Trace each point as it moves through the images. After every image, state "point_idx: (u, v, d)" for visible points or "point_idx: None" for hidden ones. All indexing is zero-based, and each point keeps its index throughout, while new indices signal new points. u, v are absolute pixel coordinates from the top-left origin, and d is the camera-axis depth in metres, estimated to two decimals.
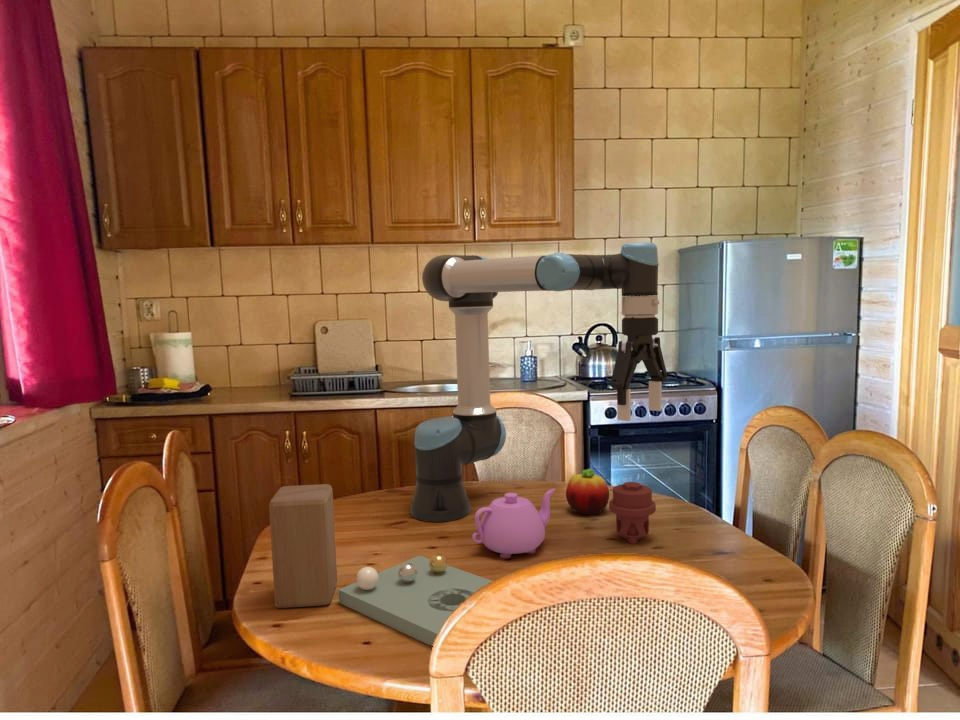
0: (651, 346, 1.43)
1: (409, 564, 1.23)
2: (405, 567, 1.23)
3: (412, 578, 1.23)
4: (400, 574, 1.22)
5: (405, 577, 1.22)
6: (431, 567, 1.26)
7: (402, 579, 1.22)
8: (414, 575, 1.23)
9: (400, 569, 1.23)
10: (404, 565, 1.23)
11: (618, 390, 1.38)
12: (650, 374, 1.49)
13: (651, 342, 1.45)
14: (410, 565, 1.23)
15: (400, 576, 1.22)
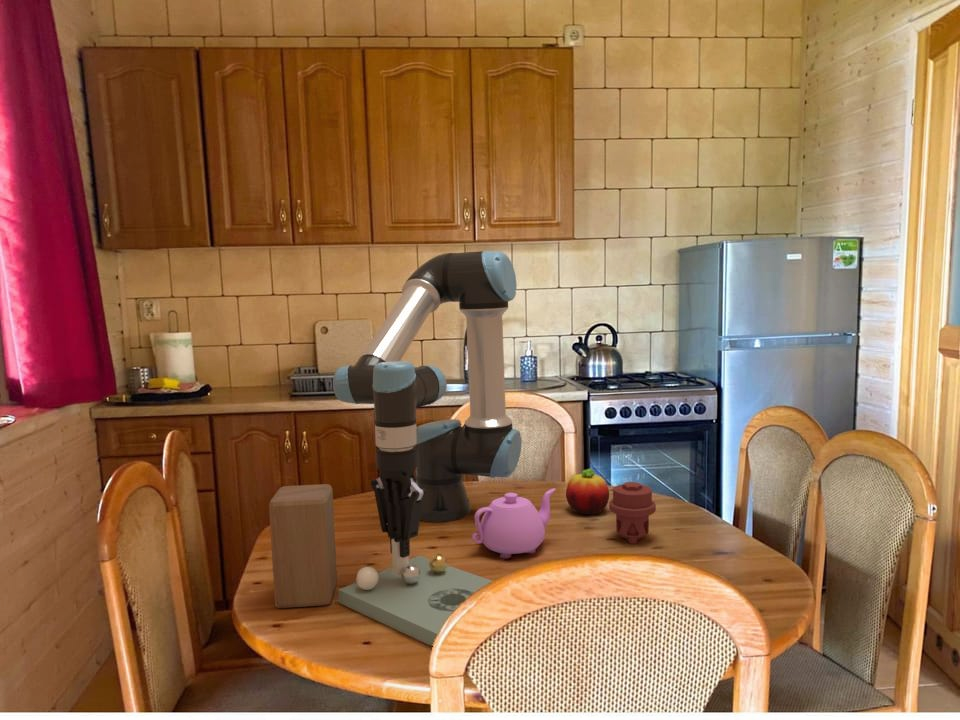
0: (394, 485, 1.21)
1: (415, 569, 1.22)
2: (411, 572, 1.22)
3: None
4: (404, 576, 1.22)
5: (408, 581, 1.22)
6: (431, 567, 1.26)
7: (404, 581, 1.22)
8: (416, 581, 1.22)
9: (405, 571, 1.22)
10: (410, 569, 1.22)
11: None
12: None
13: (404, 482, 1.20)
14: (416, 571, 1.22)
15: (403, 578, 1.22)
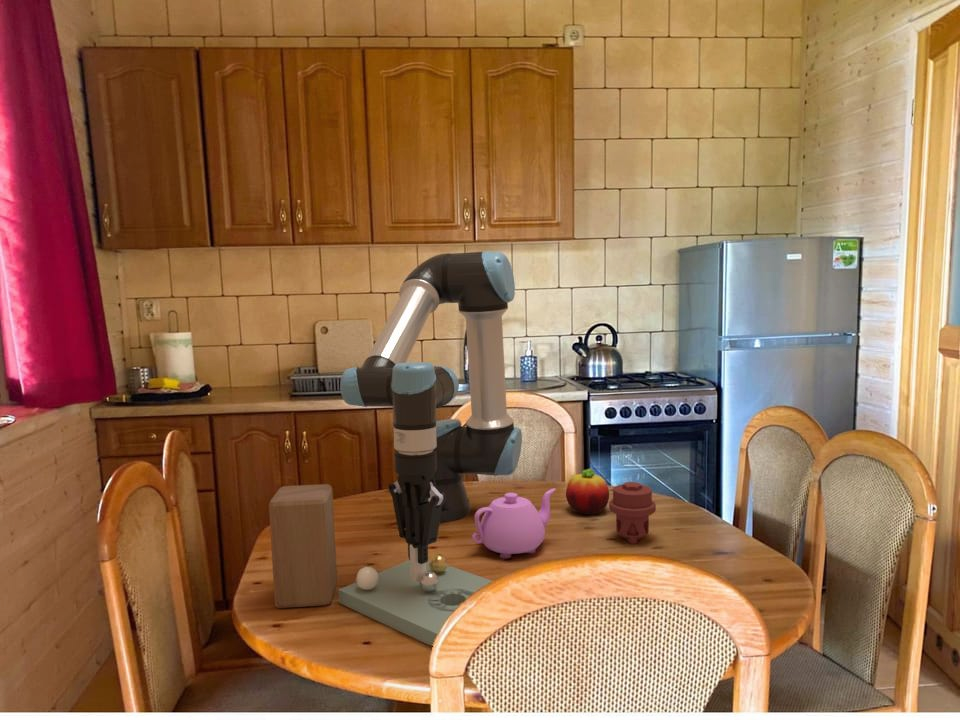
0: (413, 490, 1.17)
1: None
2: None
3: None
4: (421, 585, 1.19)
5: (419, 581, 1.19)
6: (431, 567, 1.26)
7: (420, 580, 1.19)
8: None
9: (424, 589, 1.19)
10: (426, 591, 1.19)
11: None
12: None
13: (423, 486, 1.16)
14: None
15: (421, 583, 1.18)
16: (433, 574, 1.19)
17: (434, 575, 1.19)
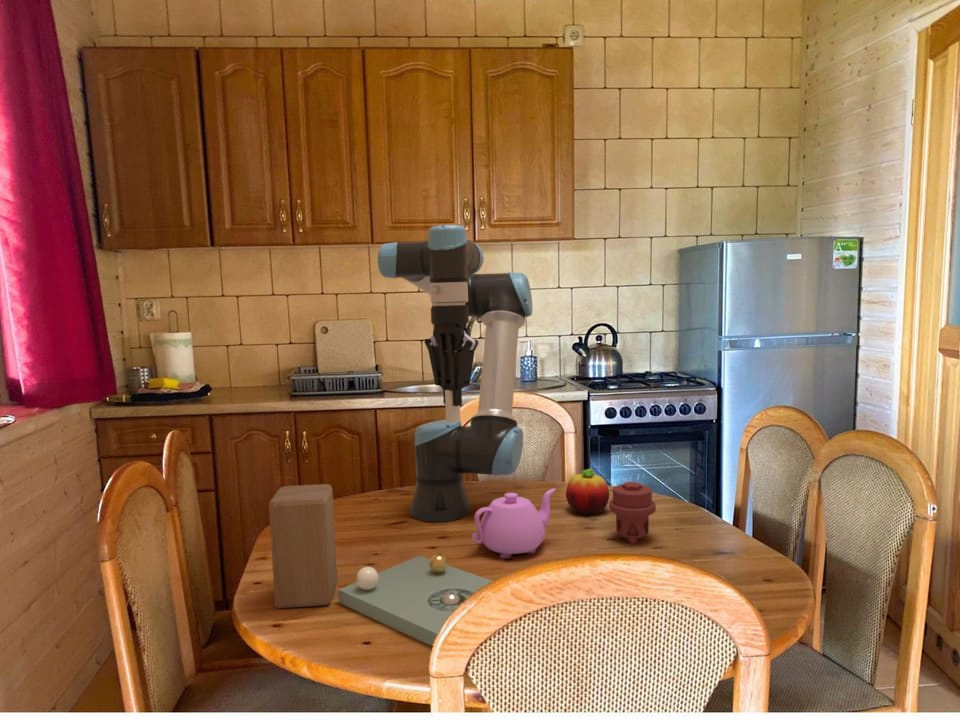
0: (448, 338, 1.32)
1: (456, 598, 1.16)
2: (453, 602, 1.15)
3: None
4: None
5: None
6: (431, 567, 1.26)
7: None
8: None
9: (446, 602, 1.15)
10: (452, 599, 1.15)
11: None
12: None
13: (457, 333, 1.31)
14: (457, 600, 1.16)
15: None
16: None
17: None
